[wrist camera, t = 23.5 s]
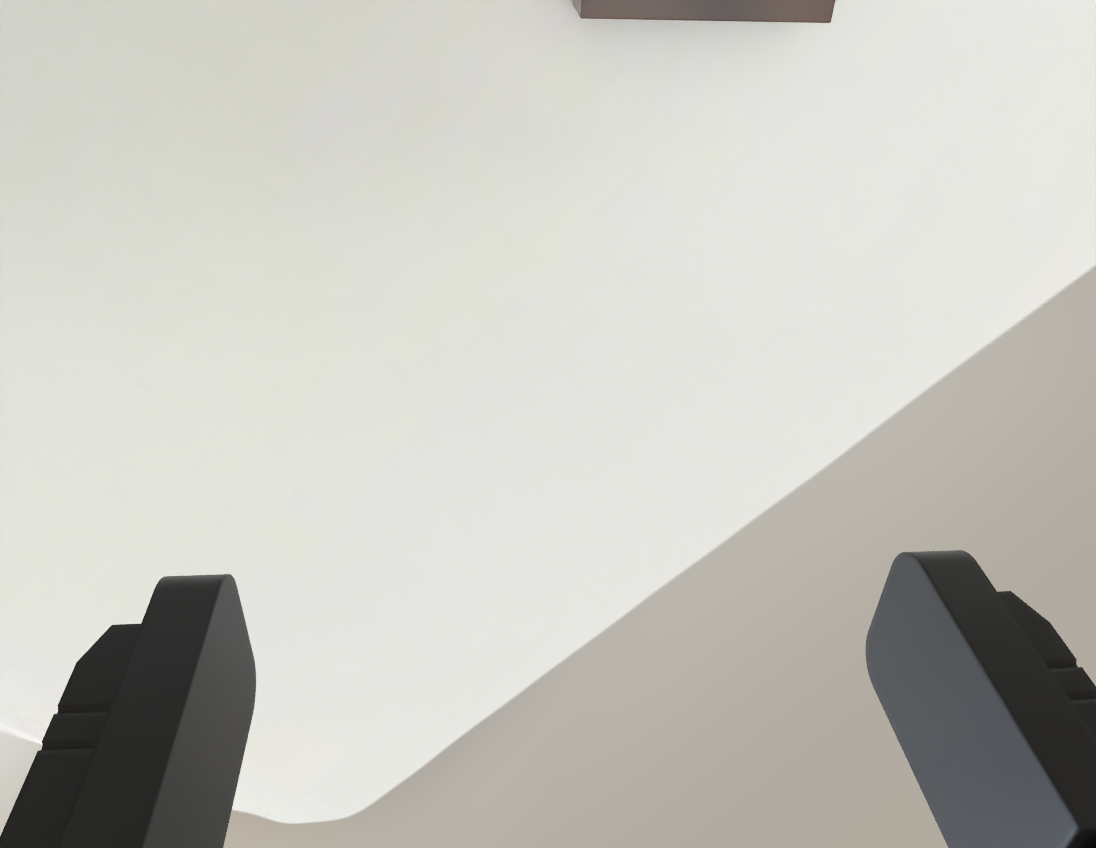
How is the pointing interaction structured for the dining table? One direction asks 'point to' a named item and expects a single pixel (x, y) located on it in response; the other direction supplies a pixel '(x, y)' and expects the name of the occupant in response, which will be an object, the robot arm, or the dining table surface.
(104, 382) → the dining table surface
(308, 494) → the dining table surface
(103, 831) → the robot arm
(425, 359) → the dining table surface
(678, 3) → the walnut holder
